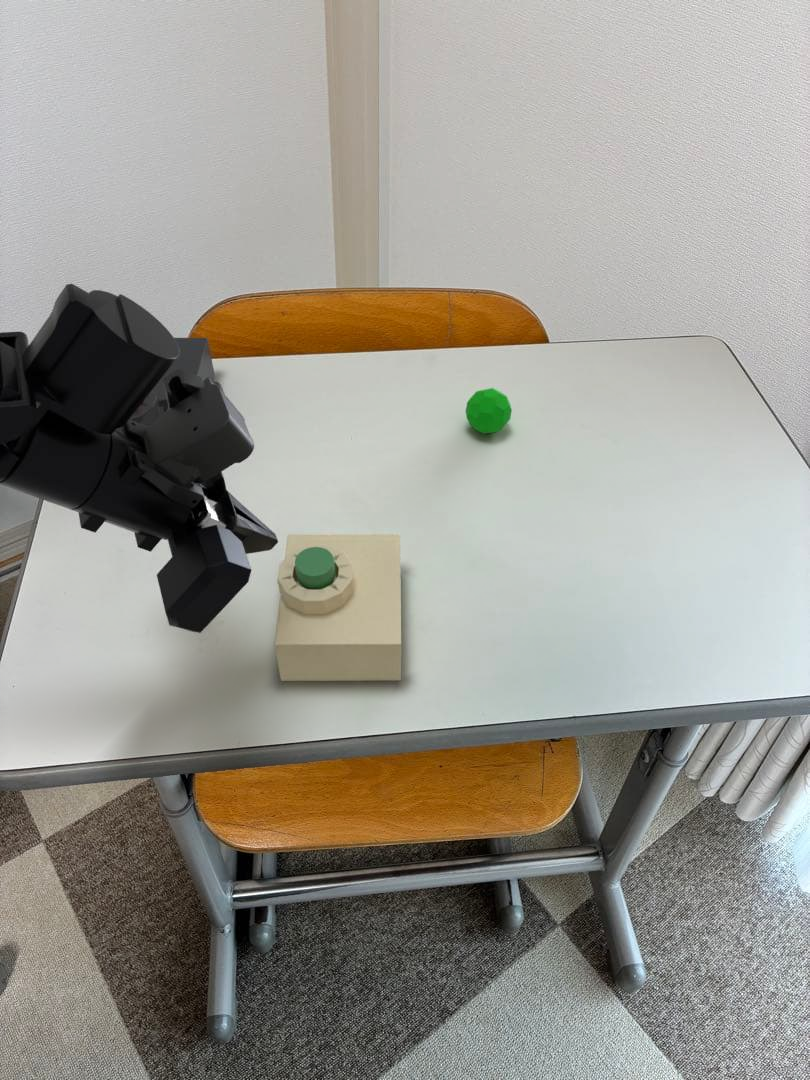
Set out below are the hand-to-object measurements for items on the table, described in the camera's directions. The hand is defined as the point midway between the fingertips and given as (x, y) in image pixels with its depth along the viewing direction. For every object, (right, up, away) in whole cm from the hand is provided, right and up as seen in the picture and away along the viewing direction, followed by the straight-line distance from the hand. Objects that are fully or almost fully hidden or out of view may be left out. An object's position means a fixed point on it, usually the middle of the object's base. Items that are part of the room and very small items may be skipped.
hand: (273, 542), depth 61 cm
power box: (+5, -7, +9) cm, 13 cm away
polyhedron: (+19, +13, +29) cm, 37 cm away
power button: (+3, -3, +5) cm, 6 cm away
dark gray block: (-17, +14, +29) cm, 36 cm away
